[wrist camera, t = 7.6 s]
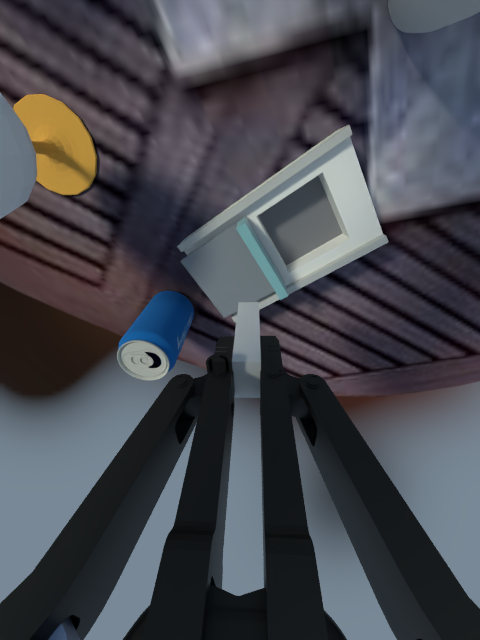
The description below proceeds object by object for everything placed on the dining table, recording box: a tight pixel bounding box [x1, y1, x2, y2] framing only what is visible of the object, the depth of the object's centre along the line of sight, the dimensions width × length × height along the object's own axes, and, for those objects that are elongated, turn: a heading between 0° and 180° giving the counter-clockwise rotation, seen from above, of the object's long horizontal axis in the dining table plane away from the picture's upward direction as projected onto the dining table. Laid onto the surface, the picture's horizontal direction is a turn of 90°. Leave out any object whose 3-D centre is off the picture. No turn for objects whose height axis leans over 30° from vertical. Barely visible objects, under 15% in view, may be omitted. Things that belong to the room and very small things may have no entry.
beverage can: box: [117, 291, 194, 380], centre depth 32 cm, size 6×6×12 cm
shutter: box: [180, 216, 288, 318], centre depth 28 cm, size 9×9×4 cm
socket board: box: [177, 125, 388, 322], centre depth 29 cm, size 12×20×4 cm, turn 123°
